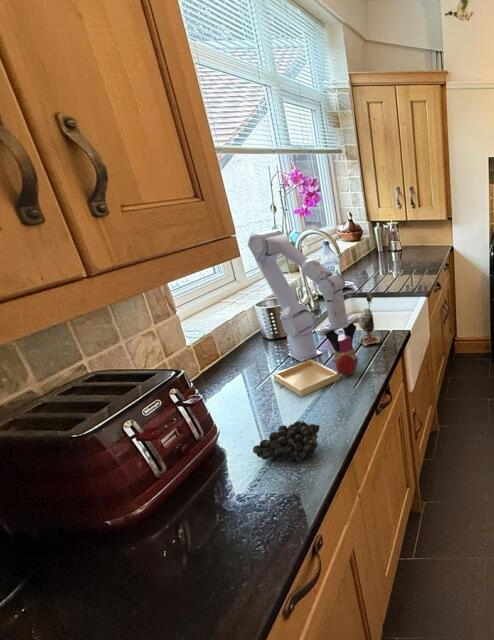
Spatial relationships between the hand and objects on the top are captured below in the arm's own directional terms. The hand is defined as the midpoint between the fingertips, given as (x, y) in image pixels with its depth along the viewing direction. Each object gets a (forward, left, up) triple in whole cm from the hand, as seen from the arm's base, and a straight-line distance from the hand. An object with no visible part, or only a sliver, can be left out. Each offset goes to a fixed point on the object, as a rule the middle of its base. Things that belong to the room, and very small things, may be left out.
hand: (343, 347), depth 137 cm
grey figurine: (-7, +15, -5) cm, 17 cm away
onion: (+10, -6, -5) cm, 13 cm away
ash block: (0, 0, -5) cm, 5 cm away
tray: (+2, -15, -5) cm, 16 cm away
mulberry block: (0, 0, -1) cm, 1 cm away
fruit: (+33, -36, -5) cm, 49 cm away
